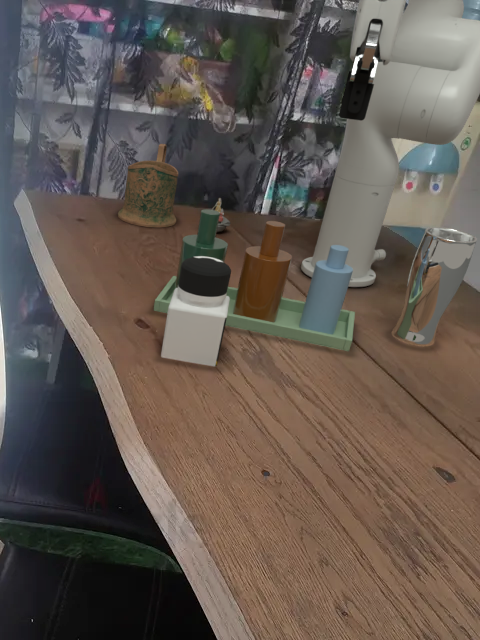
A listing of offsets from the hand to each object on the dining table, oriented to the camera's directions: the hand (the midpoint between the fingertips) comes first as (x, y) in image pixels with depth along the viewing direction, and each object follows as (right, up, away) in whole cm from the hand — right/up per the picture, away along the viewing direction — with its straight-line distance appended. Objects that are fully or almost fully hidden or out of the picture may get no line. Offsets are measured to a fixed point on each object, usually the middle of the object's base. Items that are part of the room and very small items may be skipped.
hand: (351, 112), depth 96 cm
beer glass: (+12, -28, +10) cm, 32 cm away
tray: (-11, -24, +11) cm, 29 cm away
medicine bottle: (-21, -32, -1) cm, 39 cm away
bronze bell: (-23, +7, +51) cm, 56 cm away
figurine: (-11, +2, +46) cm, 47 cm away
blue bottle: (-2, -26, +9) cm, 28 cm away
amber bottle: (-11, -24, +10) cm, 28 cm away
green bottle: (-19, -22, +12) cm, 31 cm away
